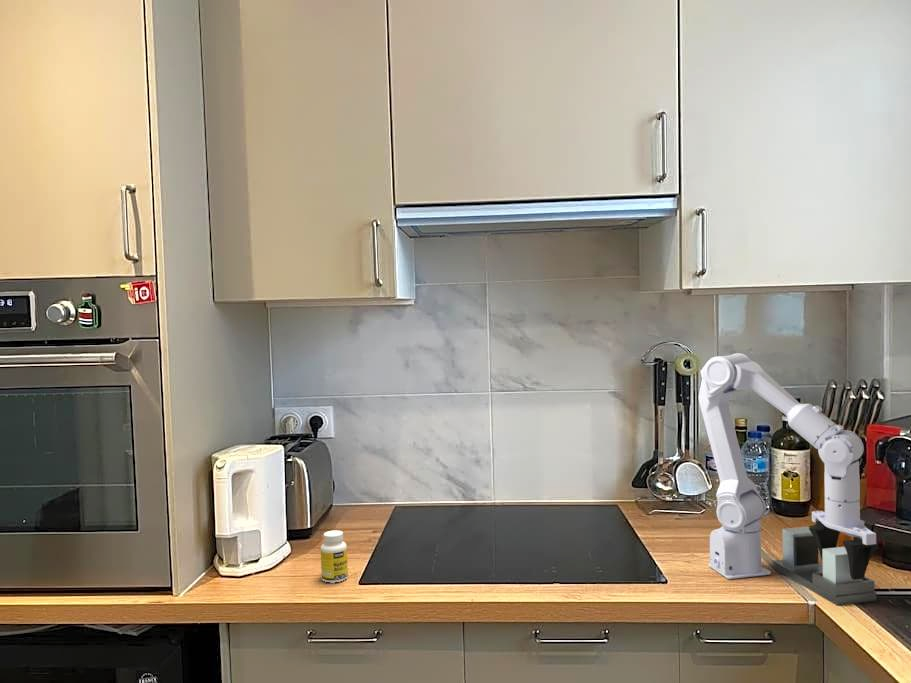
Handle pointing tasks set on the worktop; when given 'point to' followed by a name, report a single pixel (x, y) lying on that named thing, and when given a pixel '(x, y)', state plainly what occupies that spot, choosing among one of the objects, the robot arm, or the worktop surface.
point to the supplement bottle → (334, 557)
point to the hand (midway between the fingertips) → (842, 570)
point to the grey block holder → (817, 570)
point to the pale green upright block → (837, 565)
